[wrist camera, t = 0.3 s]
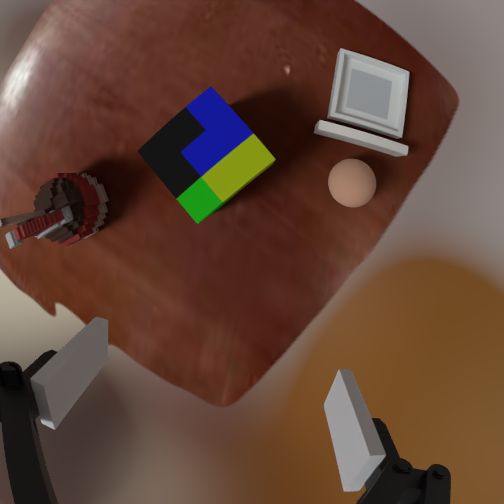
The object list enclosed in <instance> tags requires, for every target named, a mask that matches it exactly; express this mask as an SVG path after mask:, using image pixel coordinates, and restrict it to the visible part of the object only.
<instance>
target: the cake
mask: <svg viewBox="0 0 504 504" xmlns="http://www.w3.org/2000/svg"><path fill="white" fill-rule="evenodd" d="M44 183H45V184H44V185H42V186H41V187H40V189H41V190H40V191H39V192H38V193H39V194H38V195H36V196H35V197H36V200H35V201H34V206H35V209H36V210H34V212H30V213H26V214H21V215H16V216H12V217H7V218H3V219H0V227H4V226H8V225H11V224H15V223H18V224H17V226H18V227H17V228H15V229H14V230H13V231H11V232H9V233H7V234H6V235H5V236H6V239H7V242H8V244H9V247H10V249H12V248H15V247H17V246H19V245H20V244H22V243H23V239H25V238H28V237H34V236H35V237H38V239H39V238H42V237H44V236H45V237H46V239H50V240H51V242H55V241H57V242H58V245H59V244H61V243H64V242H65V244H66V246H68V245H71V244H73V243H75V242H77V241H80V240H82V239H83V238H84V239H85V238H87V237H89V236H91V235H93V234H95V233H97V232H99V230H98V227H99V226H101V225H103V224H104V221H103V219H104V218H106V215H105V213H106V212H108V209H107V207H106V204H105V202H107V201H109V200H108V198H107V195H106V192H105V190H104V187H103V184H99V185H98V182H97V179H96V177H93V178H92V177H91V175H88V176H87V174H86V173H83V174H81V175H78V173H57V174H56V175H54V176H53V177H51V178H50V179H48V180H47V181H46V182H44Z"/></svg>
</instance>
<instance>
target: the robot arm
mask: <svg viewBox="0 0 504 504" xmlns="http://www.w3.org/2000/svg"><path fill="white" fill-rule="evenodd" d="M107 361H108V320H106V319H103V318H99V317H95V318H94V319H93V320H92V321H91V322H90V323H89V324H88V325H87V326H86V327H84V328H83V329H82V330H81V331H80V332H79V333H78V334H77V335H76V336H75V337H74V338H72V339H71V340H70V341H69V342H68V343H67V344H66V345H65V346H64V347H63V348H62V349H61V350H60V351H59V352H56V351H54V350H50V351H47V352H45V353H43V354H42V355H41V356H40V357H39V358H38V359H36V361H34V363H32V364H31V365H30V366H29V367H28V368H27V369H26V370H24V371H23V372H22V369H21V367H20V365H19V364H17V363H15V362H10V361H8V362H3V363H1V364H0V422H2V432H3V442H4V450H5V457H6V463H7V469H8V474H9V480H10V484H11V489H12V494H13V498H14V502H15V504H58V501H57V498H56V496H55V492H54V489H53V487H52V483H51V480H50V477H49V473H48V470H47V466H46V463H45V459H44V455H43V452H42V447H41V443H40V438H39V434H38V429H37V424H36V421H35V419H36V418H37V417H38V416H39V415H40V419H41V422H42V423H43V424H45V425H47V426H49V427H50V428H52V429H56V427H57V426H58V425H59V423H60V422H61V421H62V419H63V418H64V417H65V415H66V414H67V412H68V411H69V410H70V409H71V407H72V406H73V405H74V403H75V402H76V401H77V399H78V398H79V397H80V395H81V394H82V393H83V391H84V390H85V389H86V388H87V386H88V385H89V384H90V382H91V381H92V380H93V378H94V377H95V376H96V375H97V373H98V372H99V371H100V370H101V368H102V367H103V366H104V364H105V363H106V362H107ZM324 408H325V412H326V417H327V421H328V425H329V429H330V433H331V437H332V441H333V446H334V450H335V454H336V459H337V463H338V468H339V472H340V476H341V481H342V485H343V490H344V492H346V491H359V490H360V489H361V488H362V486H363V485H364V484H365V487H366V491H365V493H364V494H363V495H362V496H361V497H360V498H359V499H358V501H357V503H356V504H450V490H451V487H450V486H451V475H450V472H449V470H448V469H447V468H446V467H444V466H442V465H440V464H434V465H431V466H430V467H429V468H428V470H419V469H414V468H413V467H412V465H411V464H410V463H409V462H408V461H406V460H405V459H402V458H400V457H399V455H398V452H397V450H396V448H395V445H394V443H393V440H392V439H391V436H390V434H389V431H388V429H387V427H386V425H385V424H384V423H383V422H382V421H381V420H380V419H379V418H371V416H370V413H369V411H368V409H367V406H366V404H365V401H364V399H363V397H362V395H361V392H360V390H359V387H358V385H357V383H356V380H355V378H354V375H353V373H352V371H351V370H344V369H339V370H338V373H337V375H336V378H335V380H334V383H333V385H332V387H331V389H330V392H329V394H328V396H327V399H326V401H325V403H324Z"/></svg>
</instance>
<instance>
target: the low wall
mask: <svg viewBox="0 0 504 504" xmlns="http://www.w3.org/2000/svg"><path fill="white" fill-rule="evenodd" d="M314 134H318V135H322V136H326V137H330V138H334V139H338V140H342V141H345V142H349V143H353V144H356V145H360V146H363V147H367V148H370V149H373V150H377V151H380V152H383V153H386V154H389V155H393V156H396V157H398V156H405V155H407V153H408V147H409V146H406V145H403V144H400V143H397V142H394V141H391V140H388V139H385V138H382V137H379V136H376V135H373V134H369V133H366V132H363V131H359V130H356V129H352V128H349V127H345V126H341V125H338V124H334V123H330V122H326V121H322V120H319V121H318V122H317V124H316V125H315V129H314Z"/></svg>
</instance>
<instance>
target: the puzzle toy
mask: <svg viewBox="0 0 504 504" xmlns="http://www.w3.org/2000/svg"><path fill="white" fill-rule="evenodd" d="M138 153H139V154H140V155H141V156H142V157H143V159H144V160H145V161H146V162H147V164H148V165H149V166H150V167H151V168H152V170H153V171H154V172H155V173H156V175H157V176H158V177H159V178H160V179H161V181H162V182H163V183H164V184H165V185H166V187H167V188H168V189H169V190H170V191H171V193H172V194H173V195H174V196H175V197H176V199H177V200H178V201H179V202H180V203H181V205H182V206H183V207H184V208H185V209H186V211H187V212H188V213H189V214H190V215H191V217H192V218H193V219H194V220H195V221H196V223H197V224H198V223H200V222H201V221H203V220H204V219H205V218H207V217H208V216H210V215H211V214H213V213H214V212H215V211H216V210H218V209H219V208H220V207H221V206H222V205H224V204H225V203H226V202H227V201H228V200H229V199H231V198H232V197H233V196H234V195H235V194H237V193H238V192H239V191H240V190H242V189H243V188H244V187H245V186H246V185H248V184H249V183H250V182H251V181H253V180H254V179H255V178H256V177H257V176H259V175H260V174H261V173H262V172H264V171H265V170H266V169H267V168H269V167H270V166H271V165H272V164H273V163H274V161H275V158H274V157H273V156H272V154H271V153H270V152H269V151H268V150H267V148H266V147H265V146H264V145H263V144H262V143H261V141H260V140H259V139H258V138H257V137H256V136H255V134H254V133H253V132H252V131H251V130H250V129H249V128H248V126H247V125H246V124H245V123H244V122H243V121H242V120H241V119H240V117H239V116H238V115H237V114H236V113H235V112H234V111H233V110H232V108H231V107H230V106H229V105H228V104H227V103H226V102H225V101H224V100H223V99H222V98H221V96H220V95H219V94H218V93H217V92H216V91H215V90H214V89H213V88H212V87H209V88H208V89H207V90H206V91H204V92H203V93H202V94H201V95H200V96H198V97H197V98H196V99H195V100H193V101H192V102H191V103H190V104H189V105H187V106H186V107H185V108H184V109H183V110H182V111H180V112H179V113H178V114H177V115H176V116H175V117H174V118H172V119H171V120H170V121H169V122H168V123H167V124H166V125H165V126H164V127H162V128H161V129H160V130H159V131H158V132H157V133H156V134H155V135H154V136H153V137H152V138H151V139H149V140H148V141H147V142H146V143H145V144H144V145H143V146H142V147H141V148H140V149H139V150H138Z"/></svg>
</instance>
